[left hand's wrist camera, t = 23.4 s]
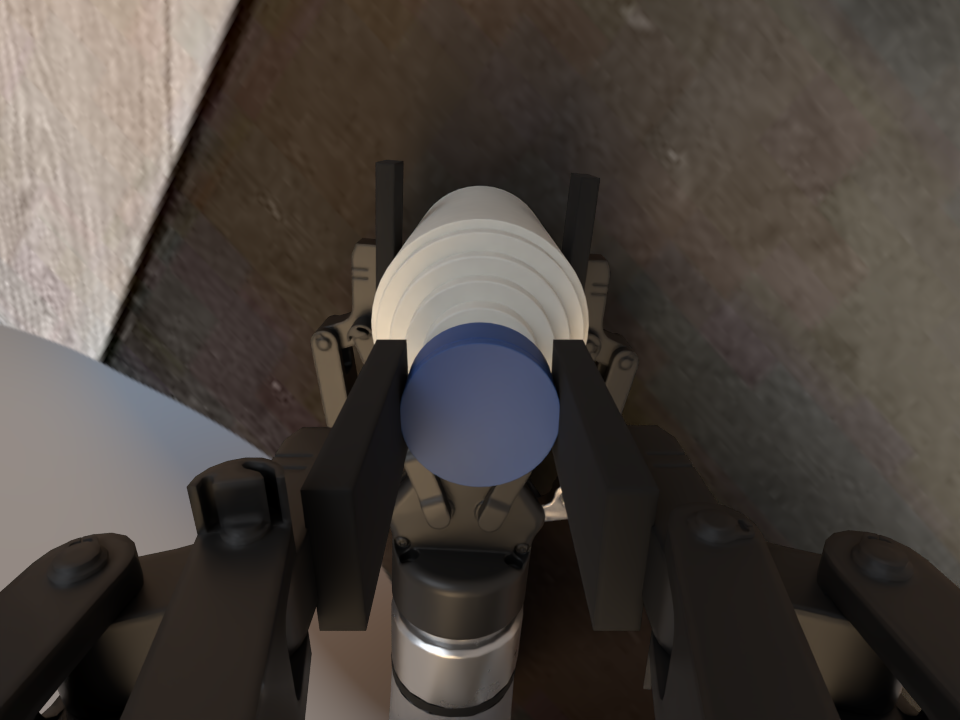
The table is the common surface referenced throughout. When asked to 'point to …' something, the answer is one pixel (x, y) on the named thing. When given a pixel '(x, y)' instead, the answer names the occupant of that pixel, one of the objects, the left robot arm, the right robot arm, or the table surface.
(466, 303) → the bottle
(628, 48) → the table surface
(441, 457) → the cap
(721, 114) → the table surface
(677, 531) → the left robot arm
